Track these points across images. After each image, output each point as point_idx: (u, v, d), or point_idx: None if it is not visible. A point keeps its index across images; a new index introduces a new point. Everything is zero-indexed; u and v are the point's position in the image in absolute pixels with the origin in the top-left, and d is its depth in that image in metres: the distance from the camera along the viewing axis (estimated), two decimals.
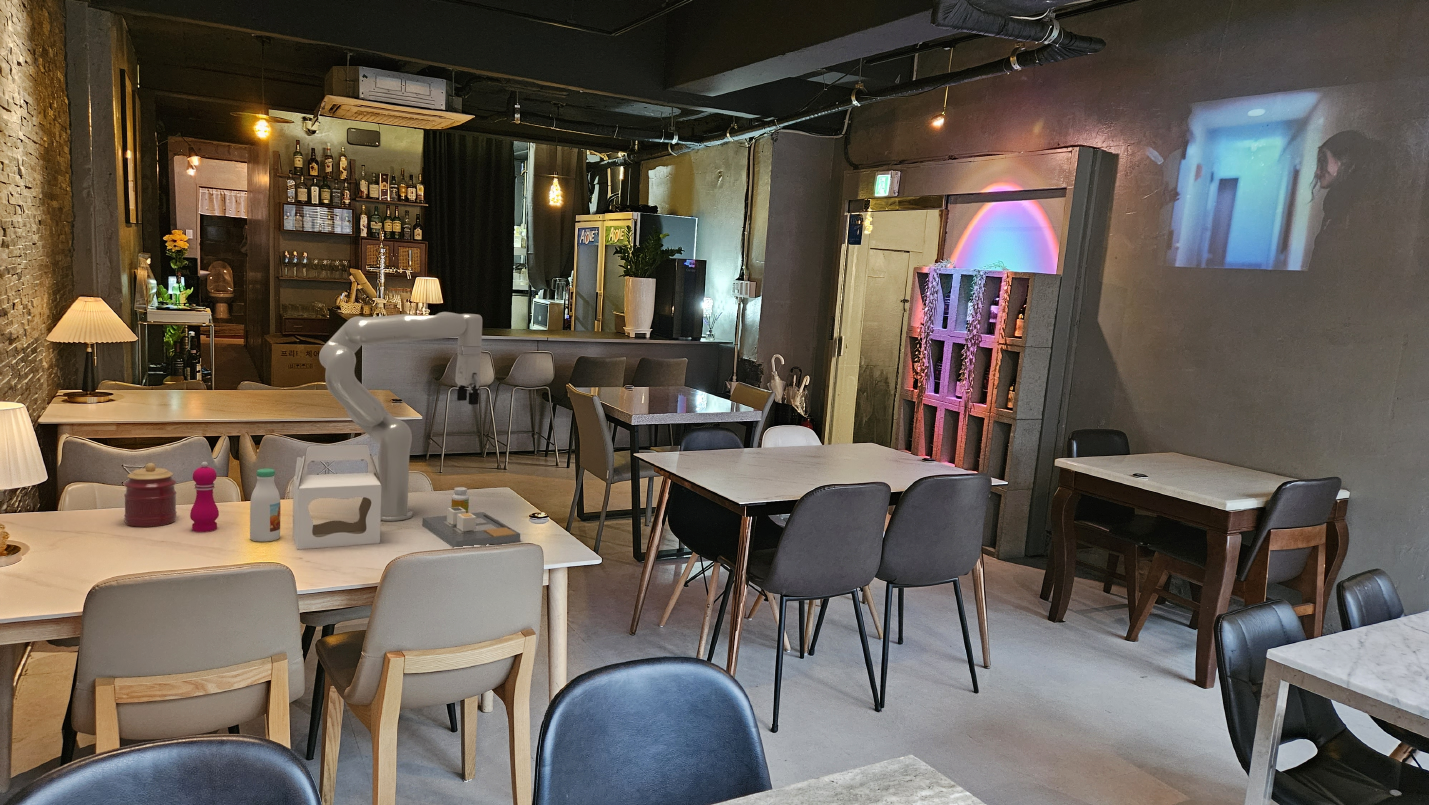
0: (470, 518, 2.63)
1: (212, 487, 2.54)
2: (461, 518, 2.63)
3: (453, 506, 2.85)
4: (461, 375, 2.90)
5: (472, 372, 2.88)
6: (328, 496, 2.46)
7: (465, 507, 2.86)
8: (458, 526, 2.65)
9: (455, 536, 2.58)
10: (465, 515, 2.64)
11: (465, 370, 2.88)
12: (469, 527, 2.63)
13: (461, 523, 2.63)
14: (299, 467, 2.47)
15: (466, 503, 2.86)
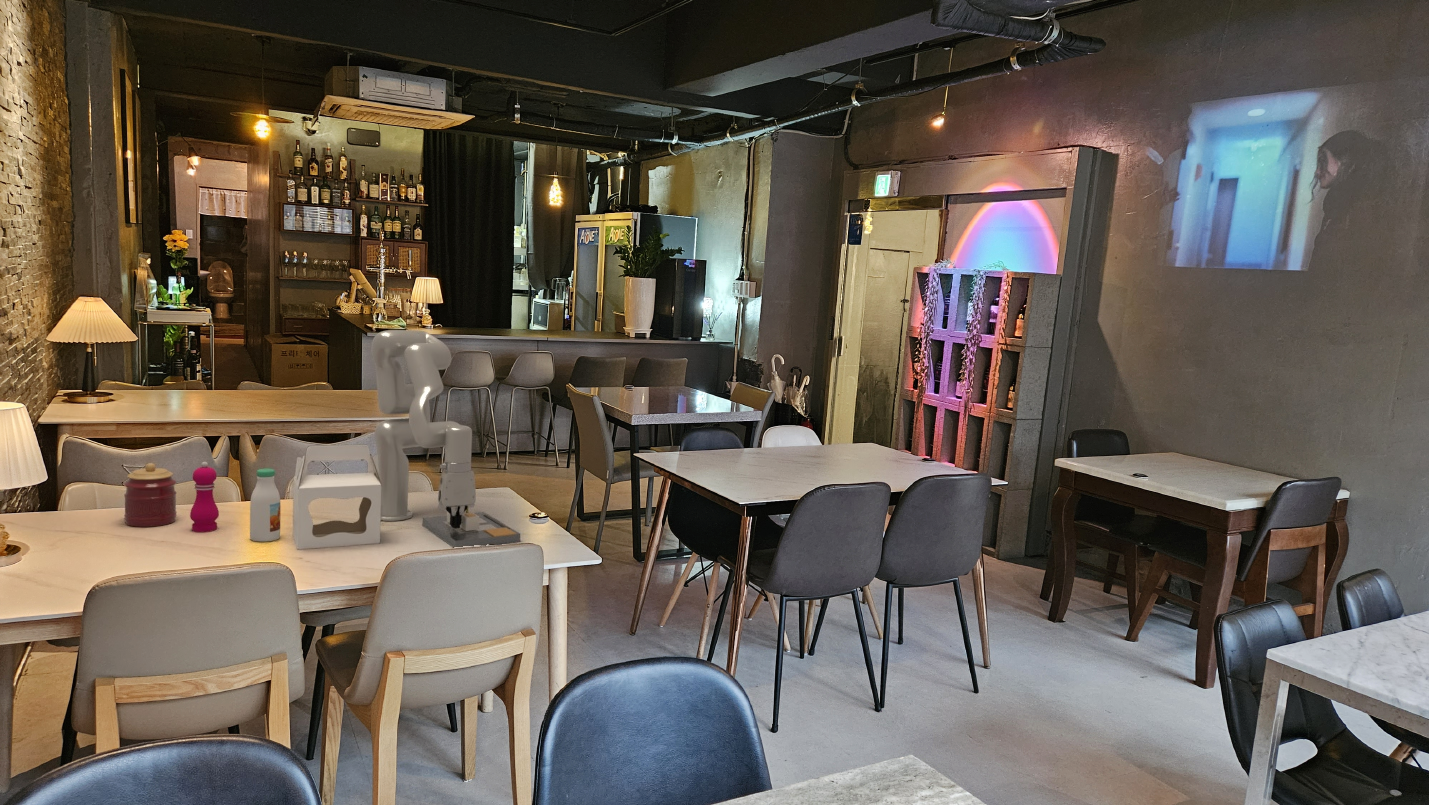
0: (473, 518, 2.64)
1: (212, 487, 2.54)
2: (464, 518, 2.64)
3: None
4: (462, 495, 2.60)
5: None
6: (328, 496, 2.46)
7: None
8: (461, 526, 2.66)
9: (455, 536, 2.58)
10: (468, 515, 2.65)
11: (472, 488, 2.62)
12: (473, 526, 2.64)
13: (464, 523, 2.64)
14: (299, 467, 2.47)
15: None
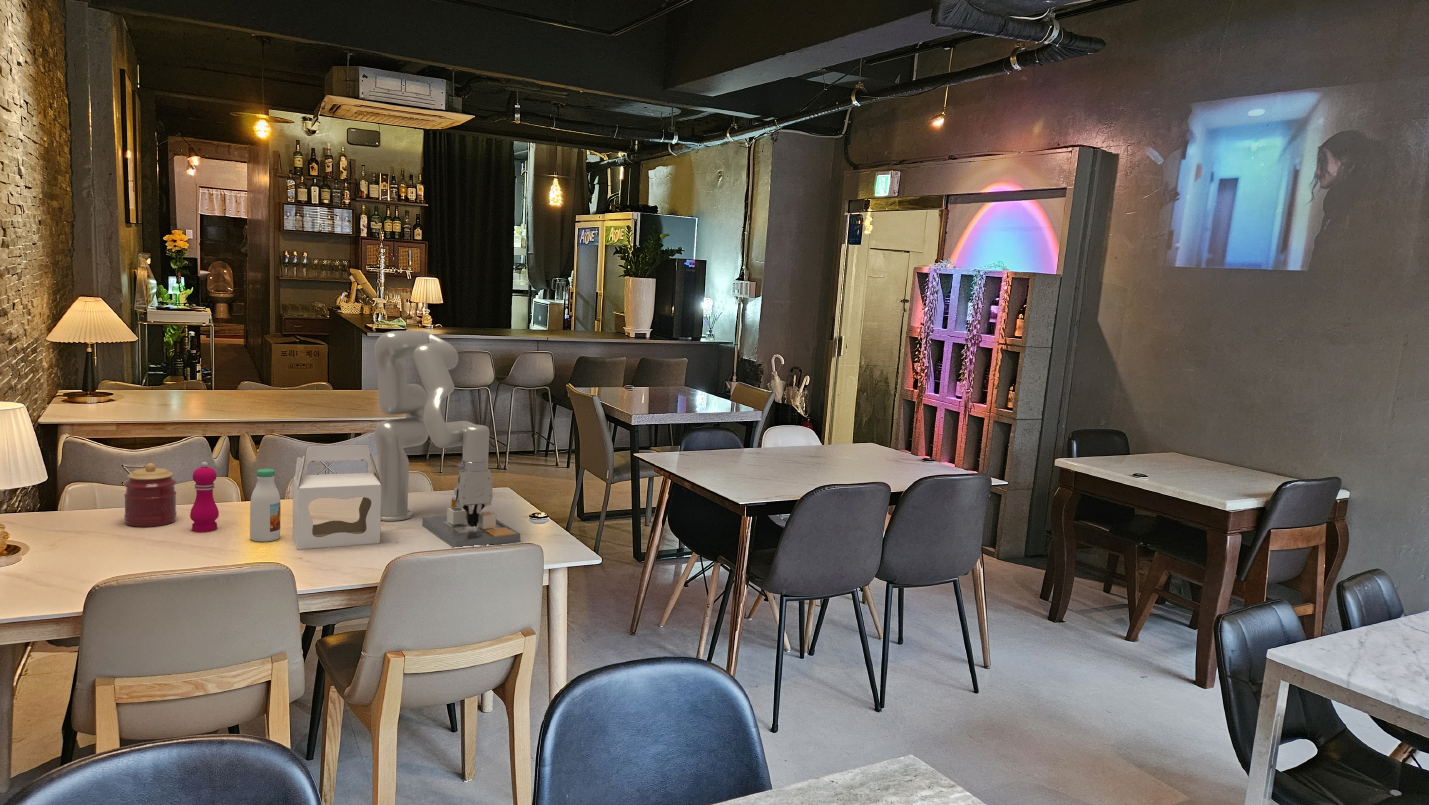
0: (490, 516, 2.67)
1: (212, 487, 2.54)
2: (481, 516, 2.67)
3: (453, 506, 2.85)
4: (480, 494, 2.64)
5: None
6: (328, 496, 2.46)
7: None
8: (478, 524, 2.69)
9: (455, 536, 2.58)
10: (485, 513, 2.68)
11: (489, 486, 2.65)
12: (489, 524, 2.67)
13: (481, 521, 2.67)
14: (299, 467, 2.47)
15: None
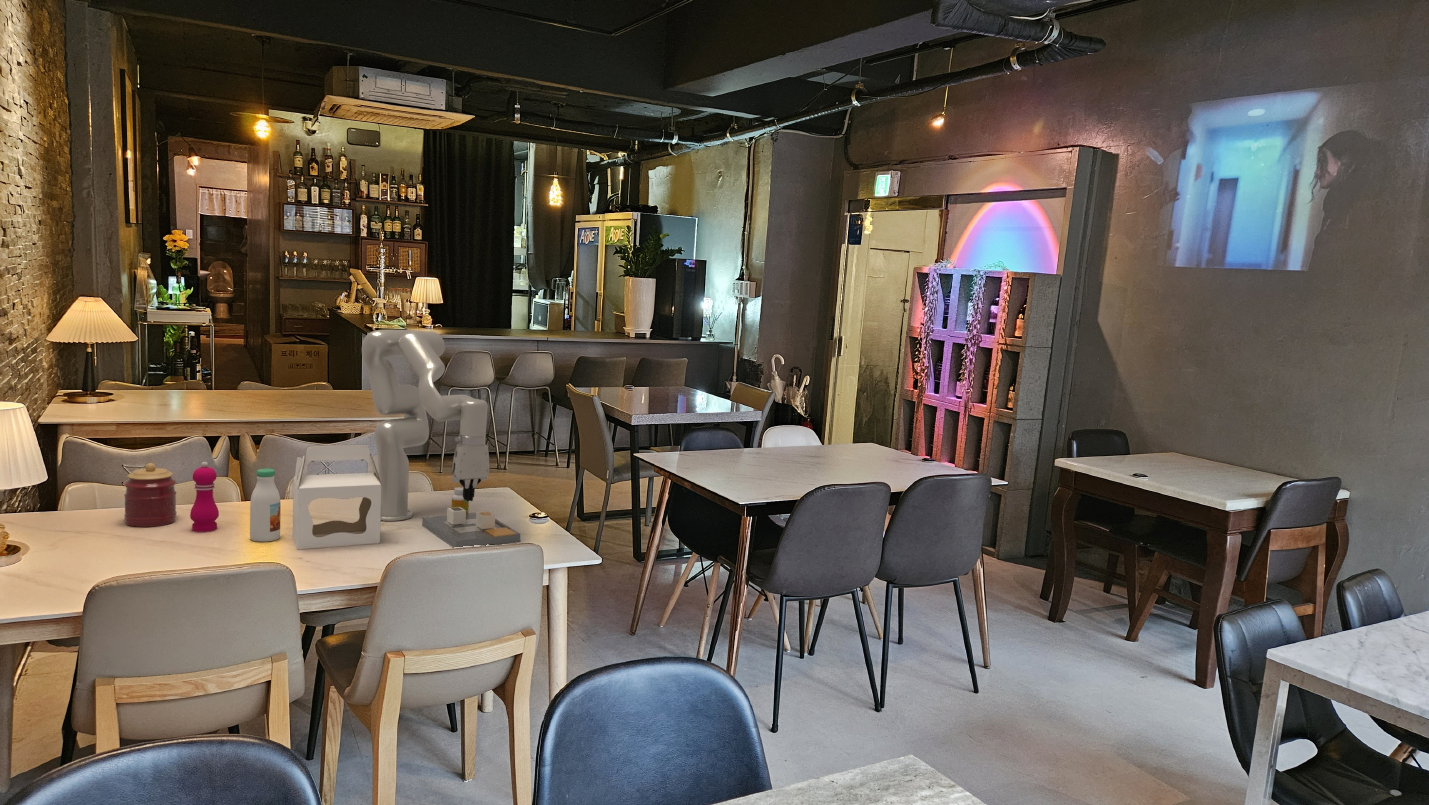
0: (489, 516, 2.67)
1: (212, 487, 2.54)
2: (480, 516, 2.67)
3: (453, 506, 2.85)
4: (476, 468, 2.62)
5: None
6: (328, 496, 2.46)
7: (465, 507, 2.86)
8: (477, 524, 2.69)
9: (455, 536, 2.58)
10: (484, 513, 2.68)
11: (486, 461, 2.64)
12: (488, 525, 2.67)
13: (480, 521, 2.67)
14: (299, 467, 2.47)
15: (466, 503, 2.86)
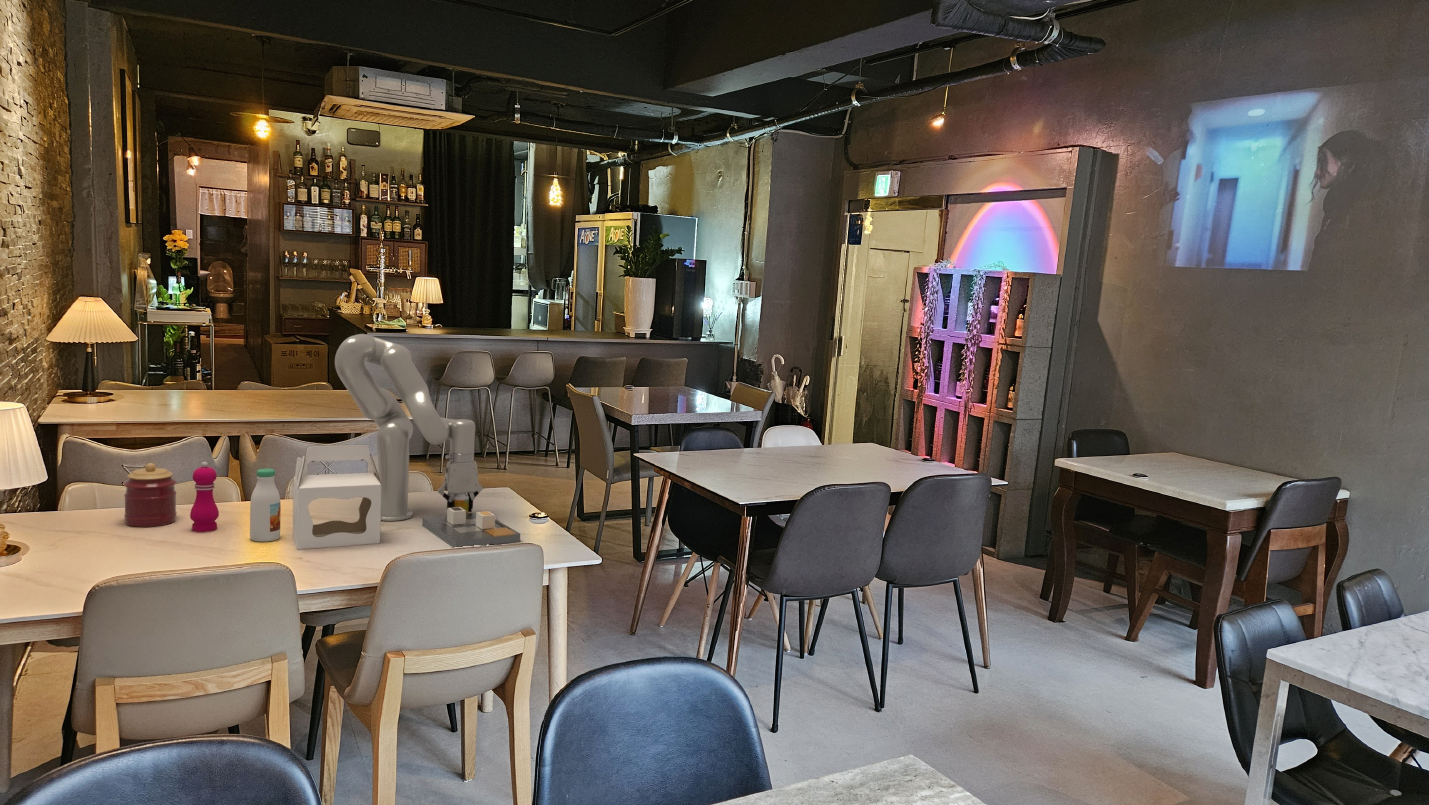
0: (489, 516, 2.67)
1: (212, 487, 2.54)
2: (480, 516, 2.67)
3: None
4: (466, 483, 2.85)
5: None
6: (328, 496, 2.46)
7: (465, 507, 2.86)
8: (477, 524, 2.69)
9: (455, 536, 2.58)
10: (484, 513, 2.68)
11: (475, 476, 2.87)
12: (488, 525, 2.67)
13: (480, 521, 2.67)
14: (299, 467, 2.47)
15: (466, 503, 2.86)
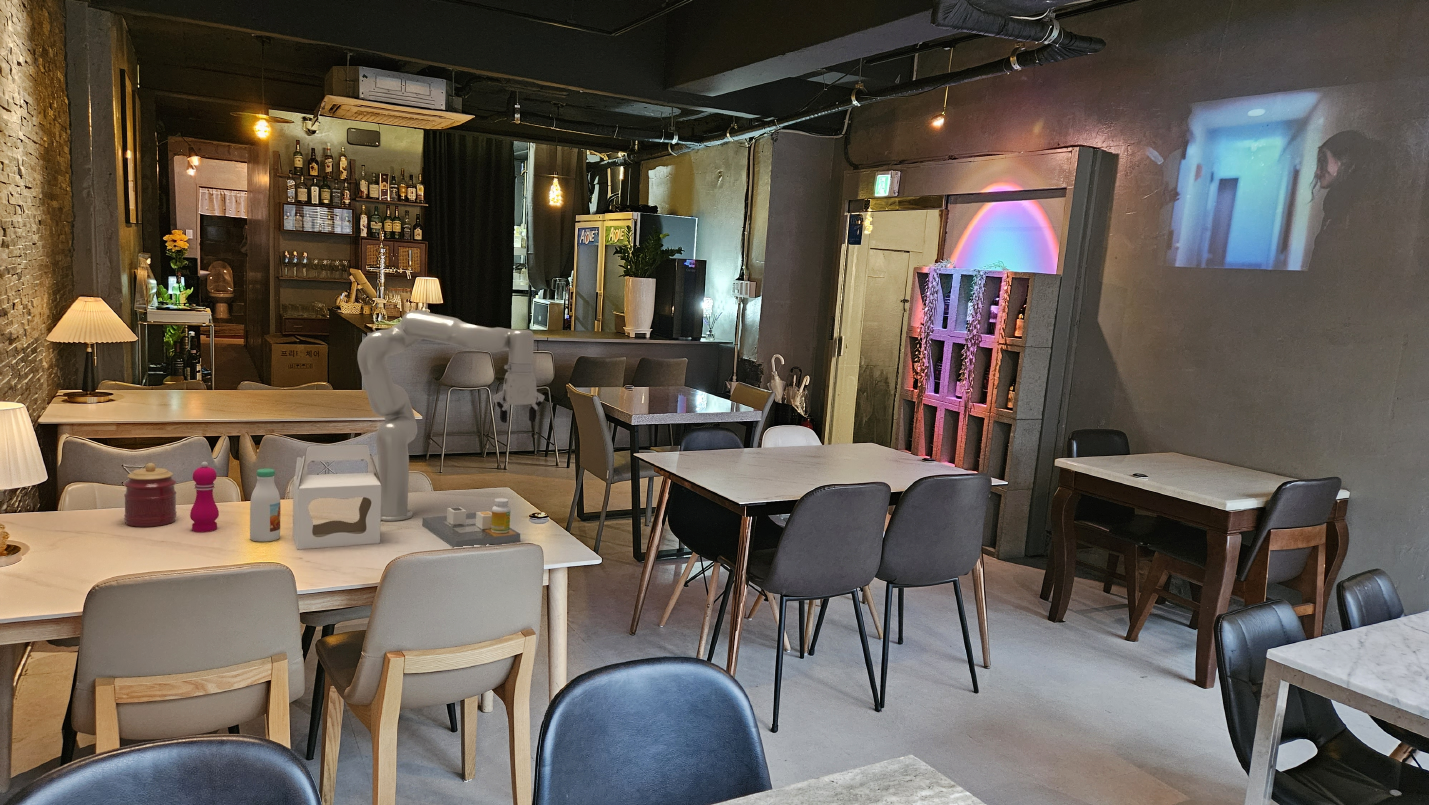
0: (489, 516, 2.67)
1: (212, 487, 2.54)
2: (480, 516, 2.67)
3: (494, 519, 2.63)
4: (525, 394, 2.79)
5: None
6: (328, 496, 2.46)
7: (507, 520, 2.64)
8: (477, 524, 2.69)
9: (455, 536, 2.58)
10: (484, 513, 2.68)
11: (533, 388, 2.81)
12: (488, 525, 2.67)
13: (480, 521, 2.67)
14: (299, 467, 2.47)
15: (508, 516, 2.64)
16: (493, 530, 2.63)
